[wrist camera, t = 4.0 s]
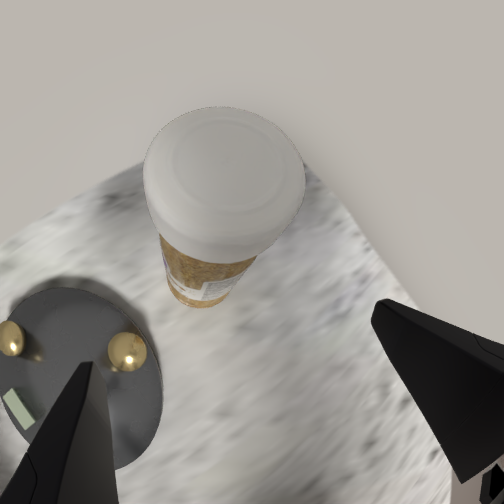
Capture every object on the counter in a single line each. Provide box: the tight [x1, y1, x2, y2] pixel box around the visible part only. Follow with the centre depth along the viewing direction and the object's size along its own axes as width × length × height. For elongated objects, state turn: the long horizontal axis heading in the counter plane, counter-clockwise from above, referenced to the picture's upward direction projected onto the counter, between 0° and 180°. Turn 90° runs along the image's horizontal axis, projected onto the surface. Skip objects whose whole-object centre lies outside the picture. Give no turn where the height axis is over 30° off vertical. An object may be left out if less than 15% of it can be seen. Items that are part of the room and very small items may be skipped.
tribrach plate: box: [0, 288, 163, 470], centre depth 15 cm, size 13×13×2 cm
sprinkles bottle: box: [143, 107, 306, 308], centre depth 14 cm, size 5×5×13 cm
